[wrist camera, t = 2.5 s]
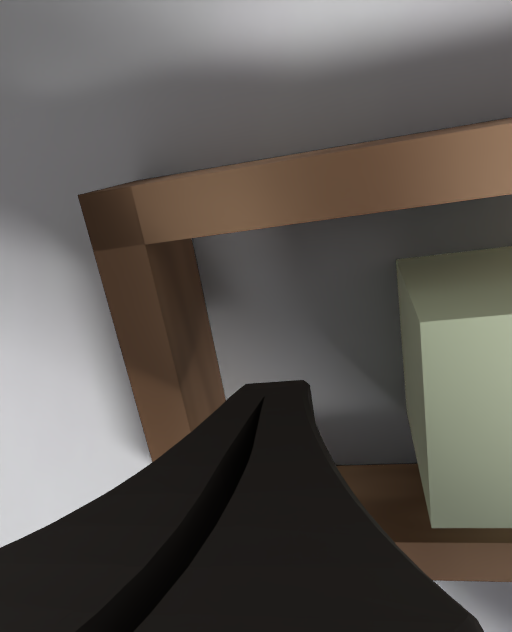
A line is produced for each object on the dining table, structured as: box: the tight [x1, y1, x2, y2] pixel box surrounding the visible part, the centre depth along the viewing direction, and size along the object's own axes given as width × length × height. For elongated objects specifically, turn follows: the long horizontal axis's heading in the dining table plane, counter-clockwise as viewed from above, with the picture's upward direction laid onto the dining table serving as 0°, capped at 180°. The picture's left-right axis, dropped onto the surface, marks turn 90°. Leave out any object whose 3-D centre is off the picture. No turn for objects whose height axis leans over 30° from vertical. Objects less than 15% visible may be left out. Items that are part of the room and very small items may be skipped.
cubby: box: [78, 118, 512, 582], centre depth 12 cm, size 13×10×3 cm
